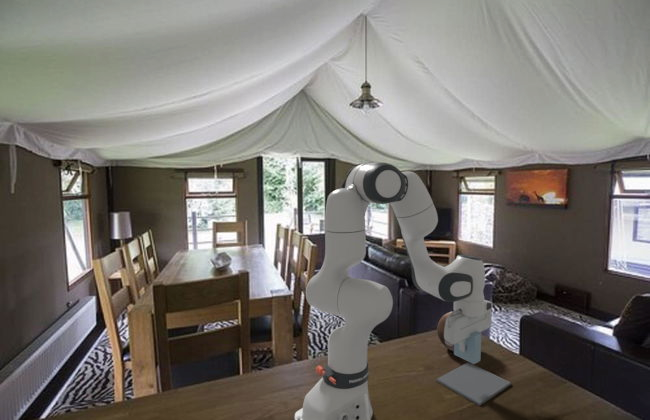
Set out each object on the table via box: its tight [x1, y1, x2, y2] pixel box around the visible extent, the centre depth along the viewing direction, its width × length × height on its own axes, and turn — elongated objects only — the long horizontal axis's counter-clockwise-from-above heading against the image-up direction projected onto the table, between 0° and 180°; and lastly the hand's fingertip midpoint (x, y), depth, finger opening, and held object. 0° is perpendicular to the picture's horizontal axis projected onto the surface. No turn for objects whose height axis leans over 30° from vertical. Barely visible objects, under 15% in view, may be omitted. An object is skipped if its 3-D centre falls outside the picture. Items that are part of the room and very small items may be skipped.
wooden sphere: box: [436, 311, 454, 352], centre depth 129 cm, size 15×15×15 cm
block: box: [453, 331, 482, 365], centre depth 105 cm, size 4×7×9 cm, turn 34°
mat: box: [435, 361, 512, 407], centre depth 108 cm, size 18×15×1 cm
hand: (467, 348), depth 105 cm, fingers closed on block, 3 cm apart
